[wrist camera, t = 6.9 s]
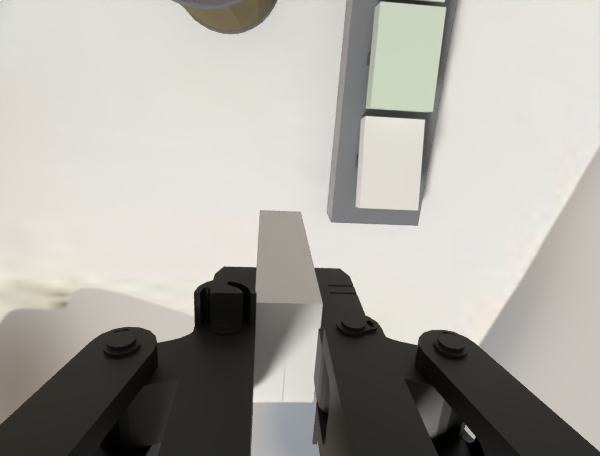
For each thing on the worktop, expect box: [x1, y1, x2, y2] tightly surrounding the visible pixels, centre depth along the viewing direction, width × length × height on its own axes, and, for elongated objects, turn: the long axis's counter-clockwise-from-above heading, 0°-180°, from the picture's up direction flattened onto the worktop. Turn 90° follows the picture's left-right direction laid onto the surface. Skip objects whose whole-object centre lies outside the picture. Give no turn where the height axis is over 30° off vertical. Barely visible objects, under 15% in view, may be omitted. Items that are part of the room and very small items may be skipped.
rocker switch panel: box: [327, 0, 457, 226], centre depth 42 cm, size 10×34×5 cm, turn 176°
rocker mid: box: [366, 2, 446, 112], centre depth 39 cm, size 6×9×2 cm, turn 176°
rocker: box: [356, 116, 425, 211], centre depth 42 cm, size 6×9×2 cm, turn 176°
